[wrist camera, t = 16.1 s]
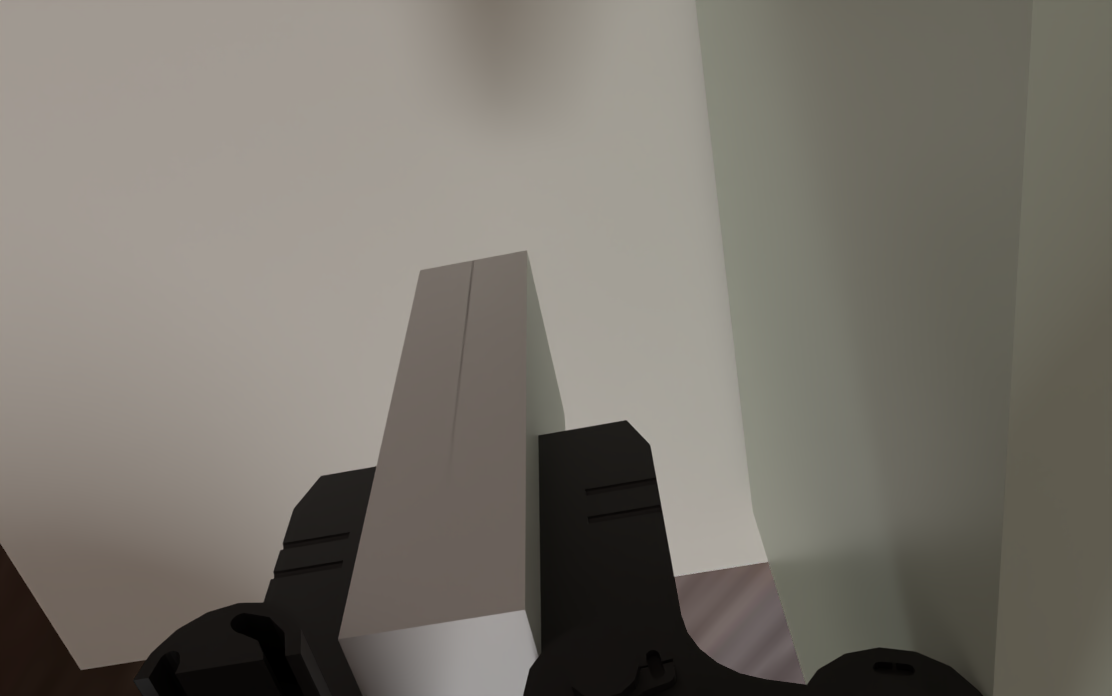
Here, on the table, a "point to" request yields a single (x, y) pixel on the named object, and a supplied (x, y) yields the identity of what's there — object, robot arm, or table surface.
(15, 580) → the table surface
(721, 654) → the table surface
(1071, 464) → the hood
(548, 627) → the robot arm
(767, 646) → the table surface
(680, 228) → the board
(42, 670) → the table surface
